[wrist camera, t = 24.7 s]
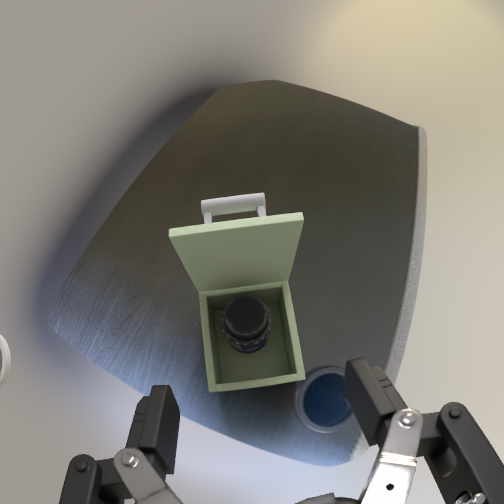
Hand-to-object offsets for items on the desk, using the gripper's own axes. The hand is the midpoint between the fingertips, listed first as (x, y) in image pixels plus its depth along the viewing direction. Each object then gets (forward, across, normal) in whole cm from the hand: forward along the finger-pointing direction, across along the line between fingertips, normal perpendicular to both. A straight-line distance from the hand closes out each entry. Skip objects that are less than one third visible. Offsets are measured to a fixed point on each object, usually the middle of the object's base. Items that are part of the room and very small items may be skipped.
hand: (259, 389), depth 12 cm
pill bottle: (+25, 0, +14) cm, 29 cm away
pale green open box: (+25, 0, +16) cm, 29 cm away
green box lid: (+18, 0, +1) cm, 18 cm away
